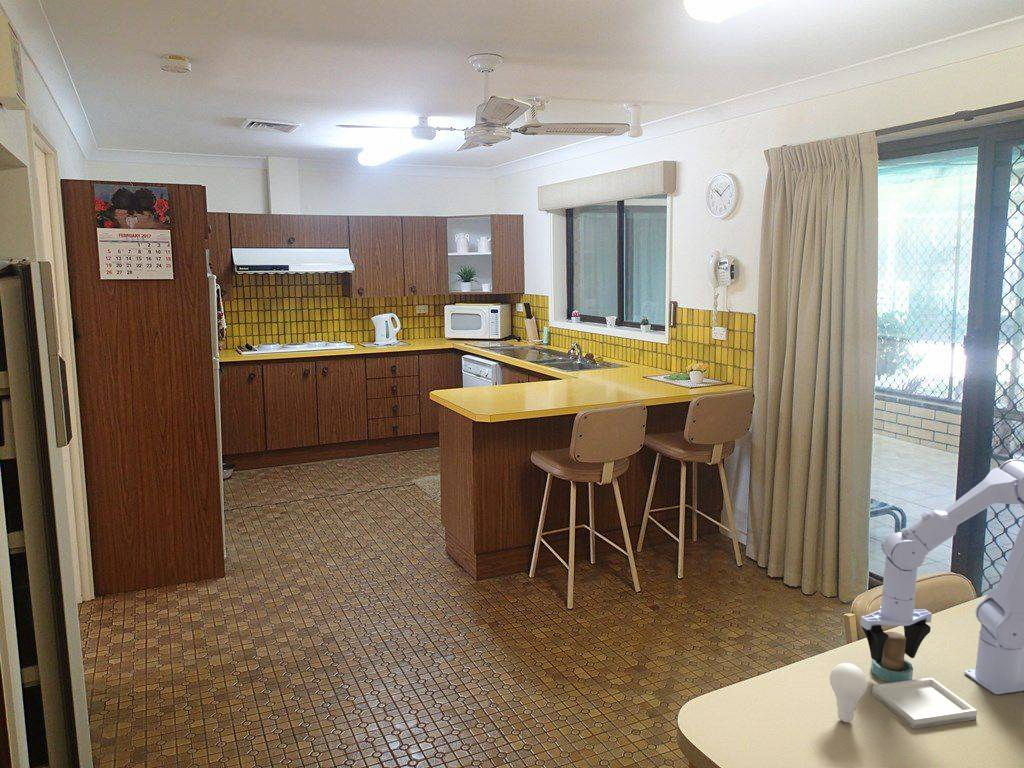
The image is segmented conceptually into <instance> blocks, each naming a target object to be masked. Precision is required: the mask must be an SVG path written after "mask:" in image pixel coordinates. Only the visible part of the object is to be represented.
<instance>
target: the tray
mask: <svg viewBox="0 0 1024 768" xmlns="http://www.w3.org/2000/svg"><path fill="white" fill-rule="evenodd" d="M871 694H872V695H873V696H874V697H875V698H877V700H878V701H880V702H881V703H882V704H883V705H885V706H886V707H887V708H888V709H889V710H891V711H892V713H894V714H895V715H897V716H898V717H899V718H900V719H901V720H902V721H904V723H906V724H907V725H909V726H910V728H912V729H914V730H915V729H922V728H928V727H935V726H943V725H949V724H955V723H961V722H967V721H974V720H977V716H978V715H977V714H978V713H977V712H978V710H977V709H976V708H975V707H973V706H972V705H971V704H969V703H968V702H967V701H965V700H964V699H962V697H959V696H958V695H956V694H955V693H954V692H953V691H951V690H950V689H948V687H946V686H944V685H943V684H942V683H940V682H939V681H938V680H936V679H935V678H933V677H926V678H925V677H923V678H919V679H912V680H909V681H902V682H894V683H891V682H887V683H880V684H873V685H872V692H871Z"/></svg>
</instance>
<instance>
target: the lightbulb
mask: <svg viewBox="0 0 1024 768" xmlns="http://www.w3.org/2000/svg"><path fill="white" fill-rule="evenodd" d="M829 683H830V687H831V690H833V692H834V695H835V698H836V707H837V717H838V719H839V720H840V721H841V722H843V723H850V722H852V721H854V715H855V711H856V709H857V704H858V702H859V700H860V699H861V698H862V697H863V695H865V692H866V691H867V687H868V680H867V677H866V675H865V673H864V671H863V670H862V669H861V668H860V667H859V666H858V665H855V664H853V663H850V662H843V663H842V662H841V663H838V664H837V665H835V666H834V667H833V668H832V670H831V671H830V674H829Z"/></svg>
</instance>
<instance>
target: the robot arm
mask: <svg viewBox="0 0 1024 768" xmlns="http://www.w3.org/2000/svg"><path fill="white" fill-rule="evenodd" d="M995 504H1009V505H1019V506H1020V507H1021V508H1022V509H1023V511H1024V460H1023V459H1019V458H1012V459H1008V460H1006V461H1003V462H1001V464H1000V465H999V467H995V468H993V469H991V470H990V471H989V472H988V474H987V475H986V476H985V478H984V479H983V480H982V481H980V482H979V483H978V484H977V485H975V486H974V487H972V488H971V489H970V490H968V491H967V492H966V493H965V494H963V495H962V496H961V497H959V498H958V499H957V500H956V501H955V502H953V503H952V504H950V505H949V506H948V507H946V508H945V509H943V510H940V509H939V510H936V509H932V510H931V511H929V512H928V511H925V512H923V513H922V514H921V515H920V516H921V518H919V519H917V520H916V521H914V522H913V523H912V524H910V525H908V526H907V527H903V528H902V529H900V531H897V532H892V533H890V534H888V536H887V537H885V539H884V541H883V542H882V543H881V545H880V547H881V550H882V552H883V553H884V555H885V561H884V571H883V580H882V581H883V582H882V592H881V604H880V606H879V609H878V610H877V611H874V612H871V613H870V614H867V615H862V616H860V627H861V629H862V631H863V633H864V634H865V637H866V640H867V643H868V646H869V647H868V648H869V651H870V658H871V660H872V659H874V660H875V661H876V662H878V663H879V662H881V660H882V656H883V648H884V645H885V642H886V639H887V638H888V636H889V635H887V634H886V633H885V632H886V631H884V629H883V628H882V627H887V626H897V627H898V626H900V627H903V630H904V631H903V632H904V634H903V635H904V636H905V637H906V645H905V655H906V656H908V657H910V659H915V657H916V655H917V653H918V650H919V648H920V646H921V644H922V642H923V640H924V639H925V638H926V637H927V636H928V635H929V634H930V633H931V628H932V627H931V626H930V624H929V625H928V623H931V622H932V615H933V613H932V612H930V611H928V610H927V609H925V608H924V609H923V608H922V609H921V608H920V609H918V608H917V609H915V598H916V597H915V596H916V590H917V589H916V587H917V577H918V568H919V567H921V566H922V565H923V564H924V562H925V557H926V556H927V555H928V554H929V553H930V552H931V551H933V550H934V549H936V548H937V547H939V546H940V545H942V544H943V543H945V542H946V541H948V540H949V539H951V538H952V537H954V536H955V535H956V534H957V533H956V532H957V528H958V525H961V524H962V523H964V522H965V521H967V520H969V519H971V518H973V517H974V516H976V515H977V514H980V513H981V512H982V511H984V510H986V509H987V508H989V507H991V506H992V505H995ZM1006 561H1007V562H1006V564H1005V567H1004V569H1003V572H1002V574H1001V577H1000V579H999V583H998V585H997V586H996V587H994V588H992V589H990V590H988V591H987V594H986V596H985V597H984V599H982V600H981V601H980V602H979V603H978V605H977V606H976V608H975V616H976V619H977V621H979V623H980V630H979V635H978V643H977V653H976V661H975V663H976V664H975V668H973V669H965V670H964V673H963V674H965V675H966V676H968V678H970V679H972V680H973V681H975V682H977V683H978V684H980V685H981V686H983V687H984V688H985V689H987V690H988V691H989V692H991V693H993V694H994V695H1003V694H1008V693H1009V694H1010V693H1016V692H1017V693H1018V692H1024V518H1023V520H1022V521H1021V524H1020V527H1019V530H1018V533H1017V535H1016V538H1015V541H1014V544H1013V546H1012V547H1011V551H1010V554H1009V555H1008V558H1007V560H1006Z"/></svg>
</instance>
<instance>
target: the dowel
mask: <svg viewBox="0 0 1024 768" xmlns="http://www.w3.org/2000/svg"><path fill="white" fill-rule="evenodd" d="M884 632H885V633H886V634H887V635H889V636H888V638H887V639H886V642H885V645H884V648H883V656H882V660H881V667H883V668H885V669H888V670H891V671H897V672H901V671H903V666H904V659H905V655H906V654H905V645H906V637H905V635H904V634H902V633H899V632H896V631H884Z"/></svg>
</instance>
